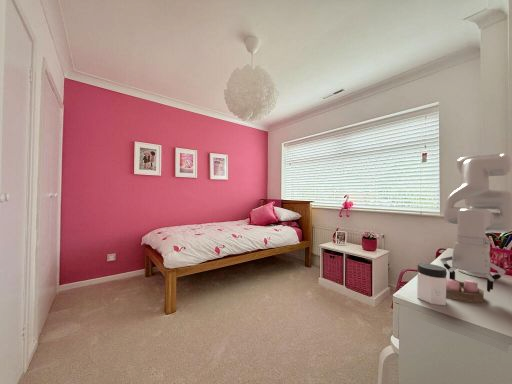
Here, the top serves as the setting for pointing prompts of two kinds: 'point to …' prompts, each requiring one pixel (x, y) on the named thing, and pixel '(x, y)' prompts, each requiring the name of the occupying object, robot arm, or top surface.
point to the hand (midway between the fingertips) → (470, 286)
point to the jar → (431, 283)
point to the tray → (465, 294)
